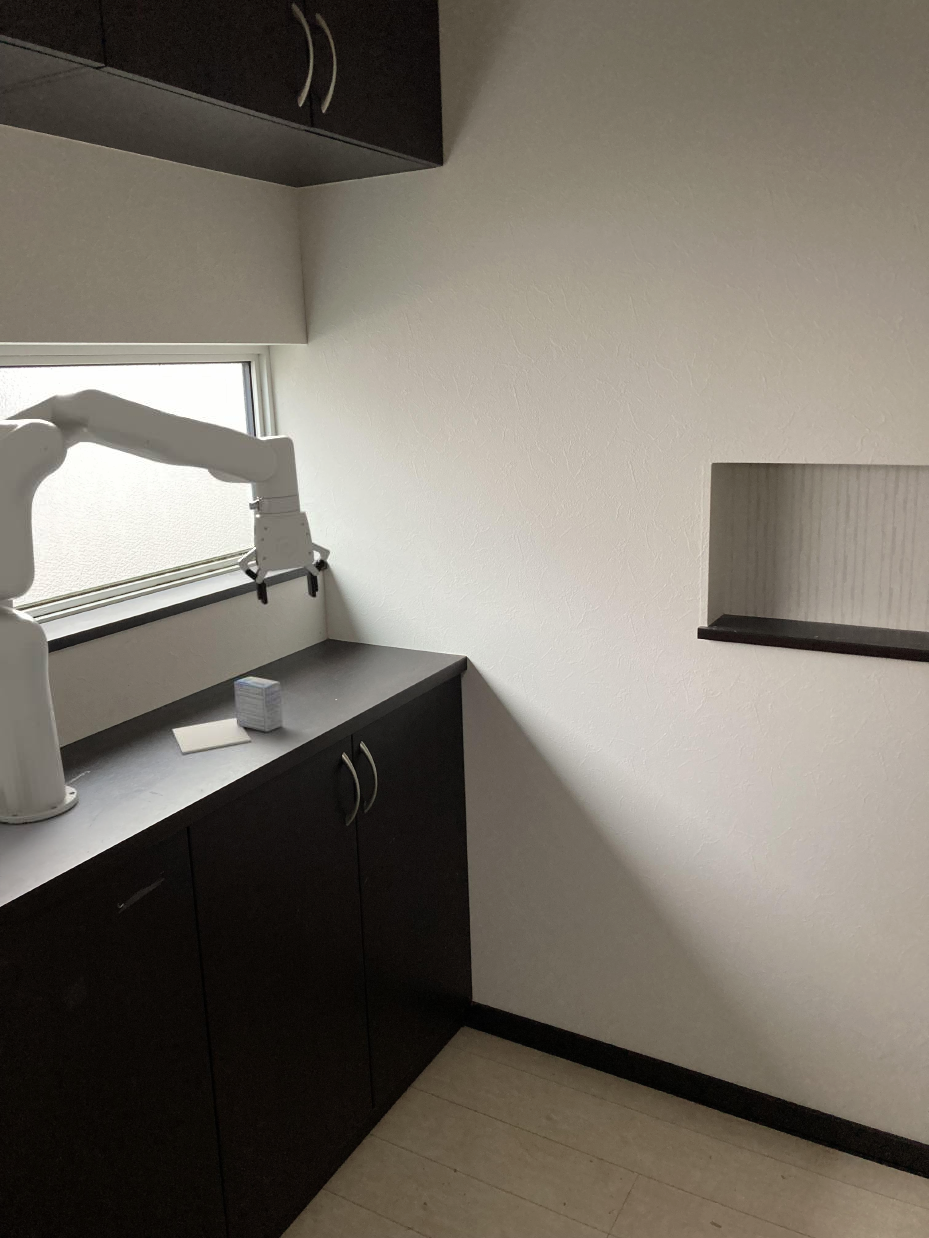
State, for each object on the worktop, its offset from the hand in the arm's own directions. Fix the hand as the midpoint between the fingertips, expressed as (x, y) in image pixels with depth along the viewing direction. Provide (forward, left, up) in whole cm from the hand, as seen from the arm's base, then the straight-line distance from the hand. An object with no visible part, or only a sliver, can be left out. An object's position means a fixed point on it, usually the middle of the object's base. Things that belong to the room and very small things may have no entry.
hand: (288, 599), depth 188 cm
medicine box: (-8, 0, -23) cm, 25 cm away
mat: (-17, 0, -23) cm, 29 cm away
